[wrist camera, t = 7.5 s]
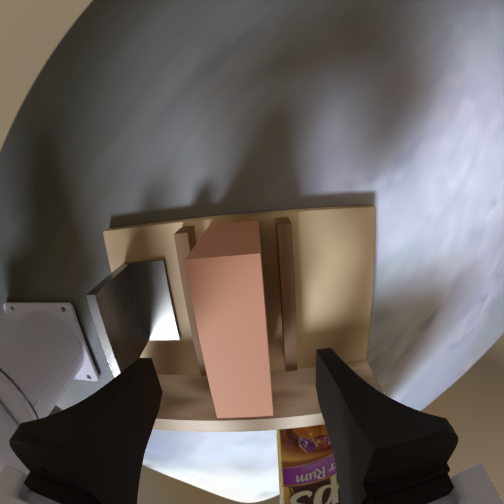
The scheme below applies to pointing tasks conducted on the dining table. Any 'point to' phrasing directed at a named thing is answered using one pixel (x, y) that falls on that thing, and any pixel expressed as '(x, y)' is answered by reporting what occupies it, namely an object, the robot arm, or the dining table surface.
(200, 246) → the slim book
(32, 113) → the dining table surface
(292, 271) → the beige slotted rack
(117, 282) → the bookend
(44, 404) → the robot arm
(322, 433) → the candy box
